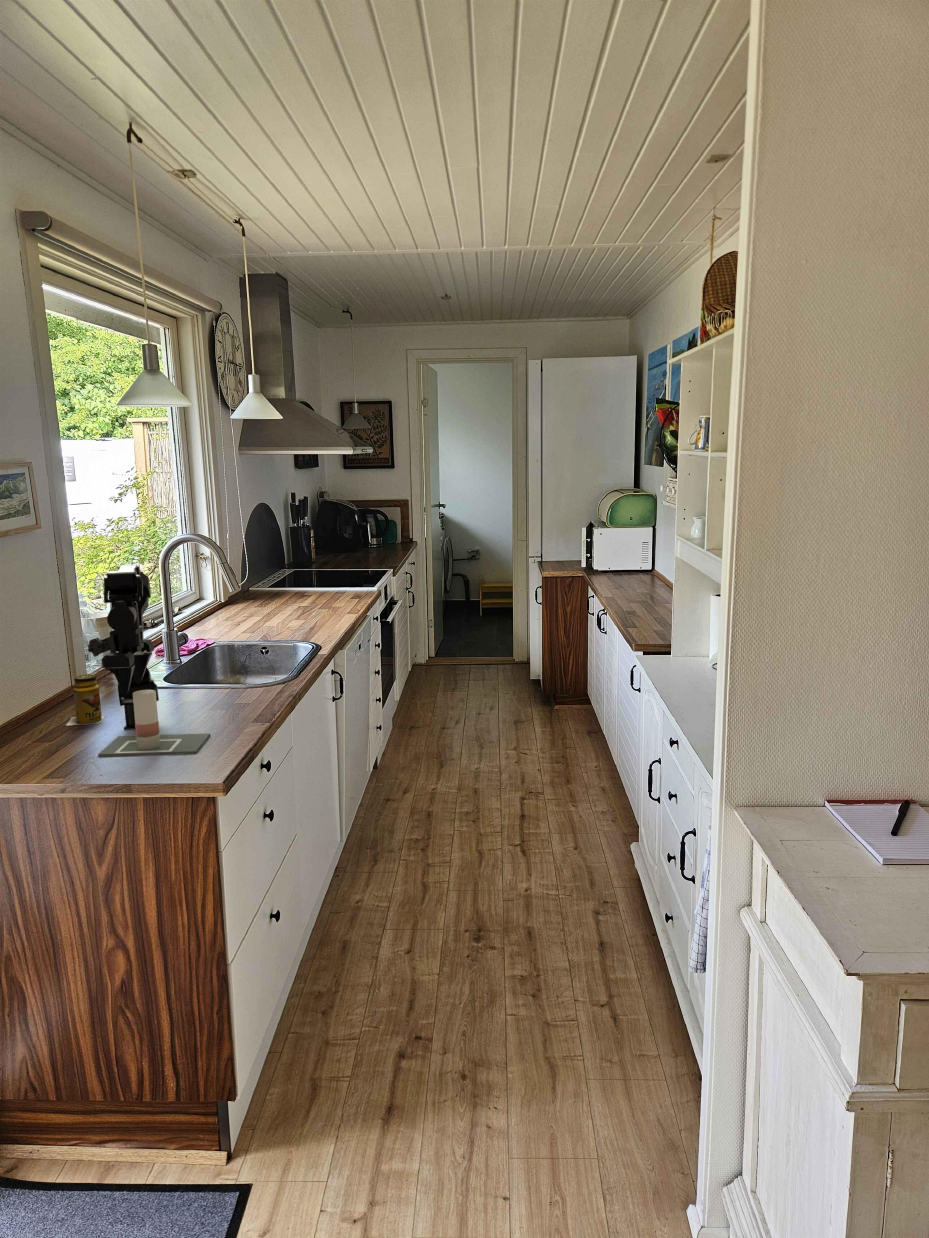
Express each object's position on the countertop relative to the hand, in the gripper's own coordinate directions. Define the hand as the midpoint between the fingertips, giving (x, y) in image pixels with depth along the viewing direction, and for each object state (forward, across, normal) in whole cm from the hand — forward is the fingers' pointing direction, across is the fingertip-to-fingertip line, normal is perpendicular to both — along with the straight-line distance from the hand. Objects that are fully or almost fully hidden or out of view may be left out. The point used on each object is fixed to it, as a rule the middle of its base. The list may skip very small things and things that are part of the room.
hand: (131, 688), depth 199 cm
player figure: (+12, +6, +5) cm, 15 cm away
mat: (+13, +4, +6) cm, 15 cm away
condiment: (+13, -18, -19) cm, 29 cm away
